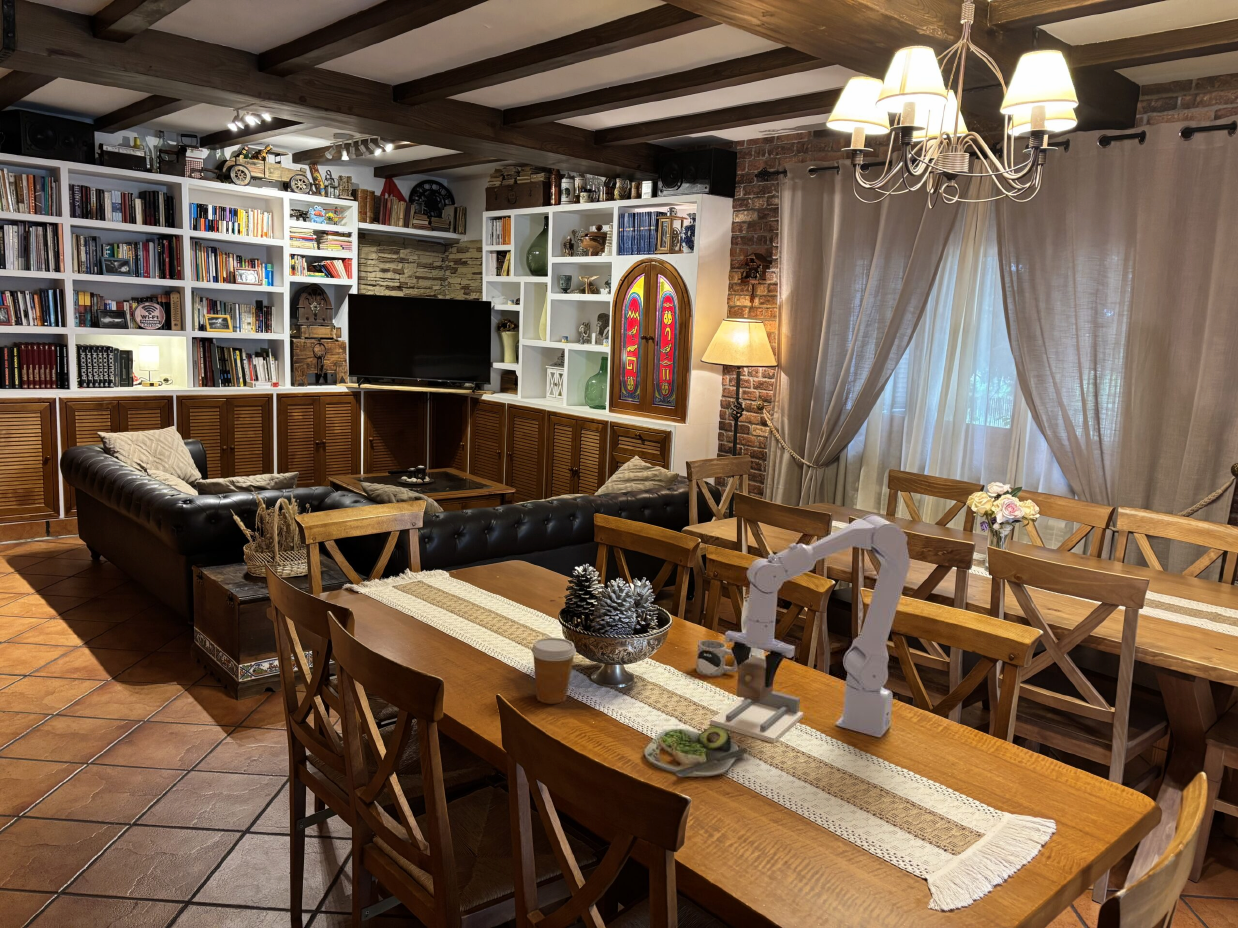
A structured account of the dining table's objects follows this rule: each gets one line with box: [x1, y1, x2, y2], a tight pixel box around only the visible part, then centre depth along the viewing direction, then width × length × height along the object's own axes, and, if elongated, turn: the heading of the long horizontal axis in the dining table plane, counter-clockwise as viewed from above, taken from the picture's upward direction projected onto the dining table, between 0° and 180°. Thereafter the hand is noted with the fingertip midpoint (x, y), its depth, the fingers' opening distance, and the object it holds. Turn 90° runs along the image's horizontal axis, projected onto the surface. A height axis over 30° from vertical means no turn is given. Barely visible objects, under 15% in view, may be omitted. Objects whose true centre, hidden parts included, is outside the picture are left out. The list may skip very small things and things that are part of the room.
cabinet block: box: [736, 656, 775, 702], centre depth 186 cm, size 5×8×6 cm, turn 148°
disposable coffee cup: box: [531, 637, 577, 705], centre depth 195 cm, size 10×10×12 cm
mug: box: [695, 639, 738, 677], centre depth 216 cm, size 10×7×7 cm
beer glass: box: [740, 597, 765, 659], centre depth 226 cm, size 7×7×15 cm
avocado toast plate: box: [643, 726, 749, 778], centre depth 170 cm, size 19×18×5 cm
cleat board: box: [709, 690, 804, 744], centre depth 190 cm, size 14×16×4 cm
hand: (755, 682), depth 187 cm, fingers closed on cabinet block, 5 cm apart
